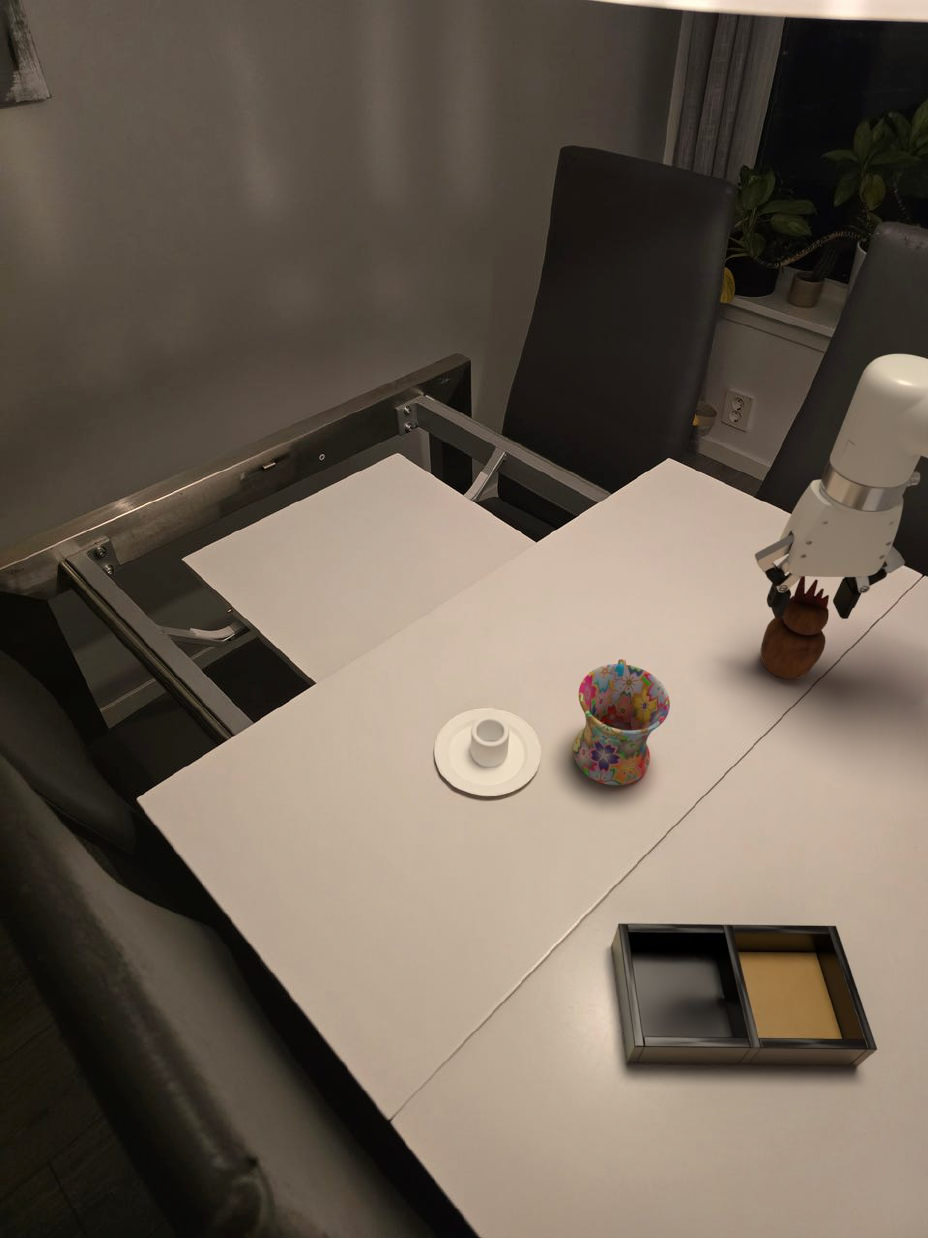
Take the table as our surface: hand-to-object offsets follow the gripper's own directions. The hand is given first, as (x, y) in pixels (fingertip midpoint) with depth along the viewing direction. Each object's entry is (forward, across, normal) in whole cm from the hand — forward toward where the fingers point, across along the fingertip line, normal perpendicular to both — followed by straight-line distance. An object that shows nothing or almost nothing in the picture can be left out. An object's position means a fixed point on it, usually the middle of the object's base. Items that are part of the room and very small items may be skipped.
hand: (807, 609), depth 91 cm
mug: (+10, +23, +12) cm, 28 cm away
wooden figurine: (+10, 0, 0) cm, 10 cm away
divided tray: (+10, +16, +40) cm, 44 cm away
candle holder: (+10, +37, +14) cm, 41 cm away
